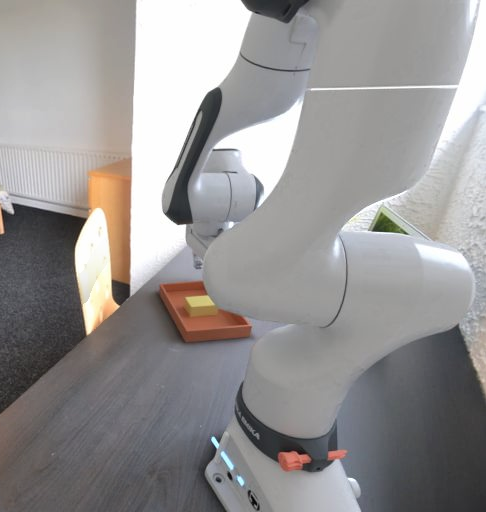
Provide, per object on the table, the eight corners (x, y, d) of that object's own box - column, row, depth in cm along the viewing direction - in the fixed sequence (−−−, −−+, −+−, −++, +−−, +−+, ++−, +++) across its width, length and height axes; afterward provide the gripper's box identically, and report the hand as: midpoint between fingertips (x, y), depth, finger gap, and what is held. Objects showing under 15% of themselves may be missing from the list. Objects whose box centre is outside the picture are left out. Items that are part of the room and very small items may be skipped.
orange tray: (249, 336, 84) (252, 325, 83) (185, 342, 83) (186, 331, 81) (211, 289, 103) (213, 279, 102) (158, 293, 102) (159, 283, 100)
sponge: (209, 304, 95) (211, 295, 94) (217, 314, 91) (219, 304, 90) (183, 307, 94) (184, 297, 93) (190, 317, 90) (191, 306, 89)
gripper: (249, 238, 73) (238, 298, 79) (207, 208, 91) (201, 258, 97) (219, 240, 72) (210, 300, 78) (183, 209, 91) (178, 259, 97)
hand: (205, 276), depth 88 cm, fingers open, 8 cm apart
